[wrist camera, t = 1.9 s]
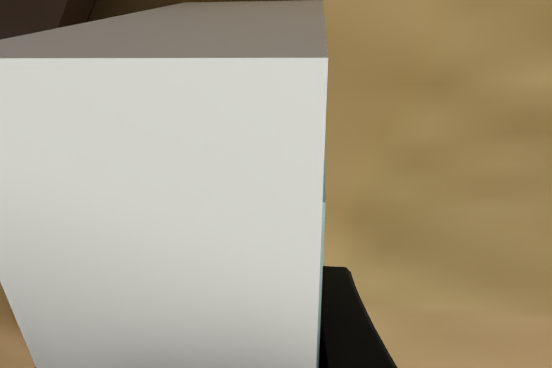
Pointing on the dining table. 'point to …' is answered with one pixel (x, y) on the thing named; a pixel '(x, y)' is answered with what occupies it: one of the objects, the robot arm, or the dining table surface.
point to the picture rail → (40, 15)
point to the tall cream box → (167, 187)
